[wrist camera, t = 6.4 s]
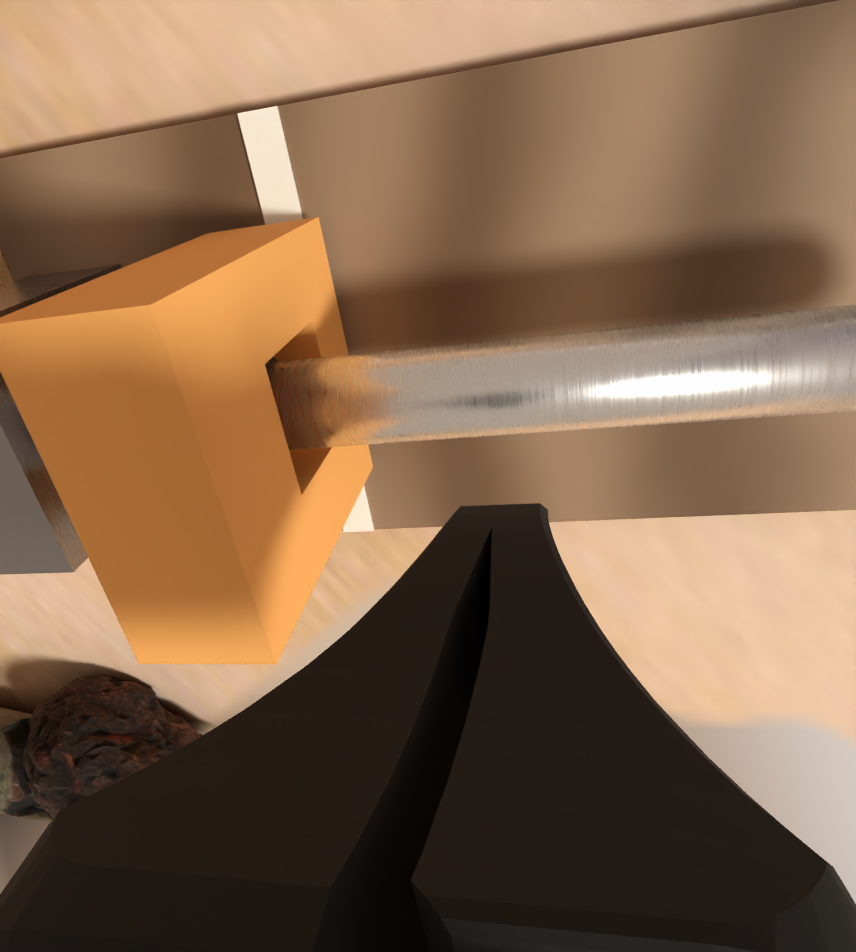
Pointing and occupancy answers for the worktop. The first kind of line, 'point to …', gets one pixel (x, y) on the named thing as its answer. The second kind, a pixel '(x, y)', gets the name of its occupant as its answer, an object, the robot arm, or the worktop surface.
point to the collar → (191, 437)
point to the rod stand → (518, 275)
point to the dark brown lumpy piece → (82, 744)
